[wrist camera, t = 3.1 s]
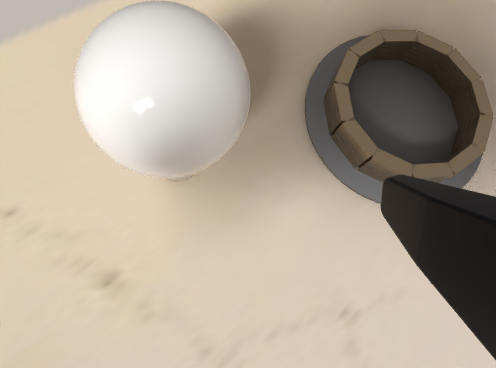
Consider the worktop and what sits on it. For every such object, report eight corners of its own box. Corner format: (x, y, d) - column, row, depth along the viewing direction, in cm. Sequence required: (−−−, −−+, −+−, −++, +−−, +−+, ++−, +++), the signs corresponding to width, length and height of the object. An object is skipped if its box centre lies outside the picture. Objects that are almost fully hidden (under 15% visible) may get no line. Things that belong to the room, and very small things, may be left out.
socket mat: (496, 84, 26) (501, 81, 25) (456, 240, 22) (460, 239, 22) (341, 11, 26) (343, 7, 25) (275, 155, 22) (277, 153, 22)
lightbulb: (98, 180, 21) (-8, 67, 10) (160, 94, 22) (126, -77, 12) (197, 237, 20) (194, 181, 10) (251, 145, 22) (297, 17, 12)
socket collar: (481, 87, 25) (504, 71, 23) (447, 212, 22) (470, 205, 20) (354, 28, 25) (366, 6, 23) (303, 145, 22) (312, 131, 20)
